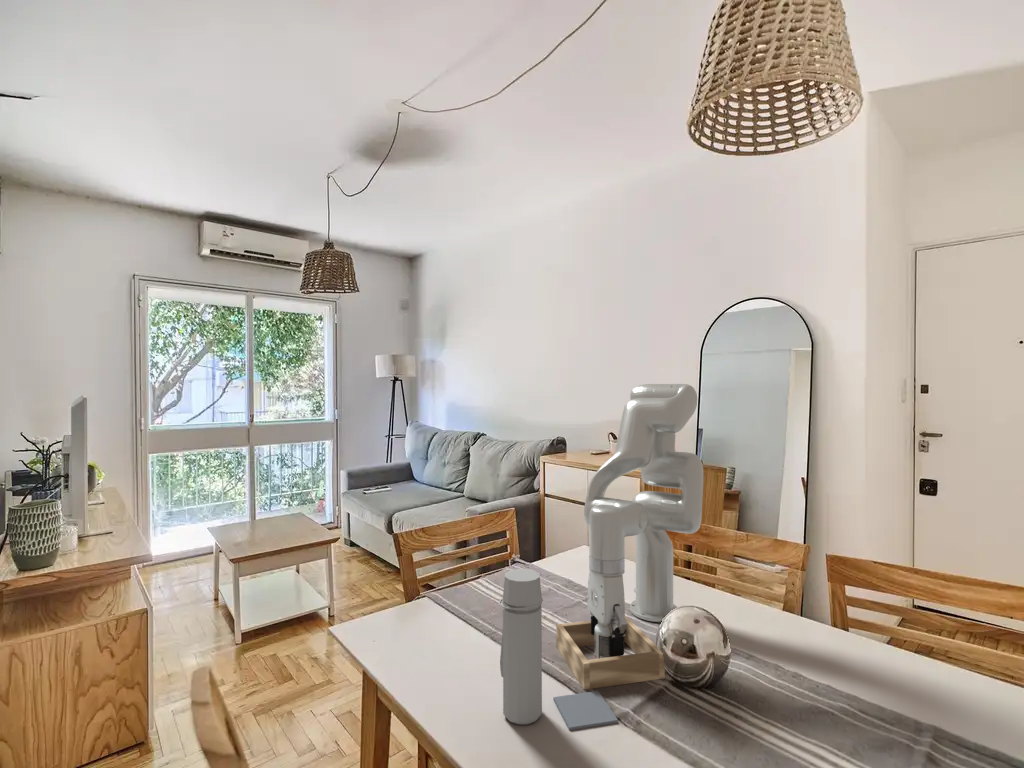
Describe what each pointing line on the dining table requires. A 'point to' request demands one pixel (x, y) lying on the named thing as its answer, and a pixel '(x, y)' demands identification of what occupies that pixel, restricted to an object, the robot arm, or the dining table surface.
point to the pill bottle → (602, 640)
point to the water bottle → (522, 646)
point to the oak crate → (609, 669)
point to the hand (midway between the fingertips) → (606, 644)
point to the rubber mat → (584, 710)
